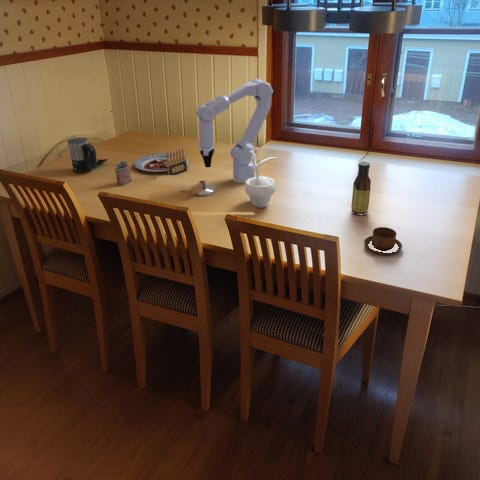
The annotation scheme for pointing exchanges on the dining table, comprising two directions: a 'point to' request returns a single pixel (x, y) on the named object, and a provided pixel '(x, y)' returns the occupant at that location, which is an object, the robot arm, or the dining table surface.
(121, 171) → the lighter
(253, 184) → the potted plant
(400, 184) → the dining table surface
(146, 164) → the ceramic plate
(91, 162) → the milk frother
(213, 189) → the dial
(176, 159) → the ammunition clip
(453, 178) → the dining table surface
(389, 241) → the cup and saucer
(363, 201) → the sauce bottle
